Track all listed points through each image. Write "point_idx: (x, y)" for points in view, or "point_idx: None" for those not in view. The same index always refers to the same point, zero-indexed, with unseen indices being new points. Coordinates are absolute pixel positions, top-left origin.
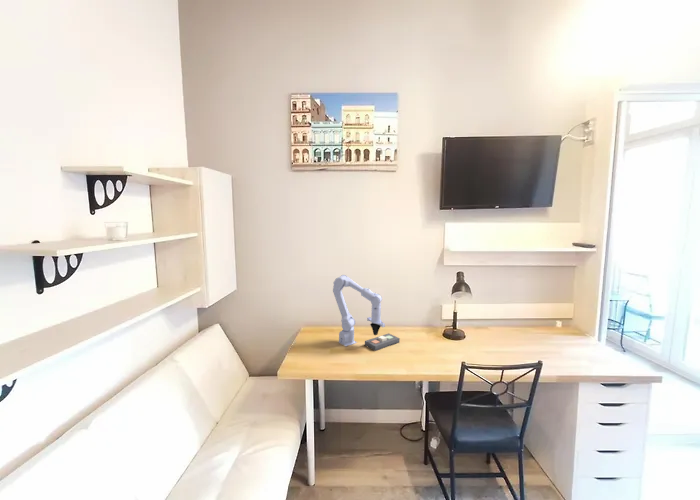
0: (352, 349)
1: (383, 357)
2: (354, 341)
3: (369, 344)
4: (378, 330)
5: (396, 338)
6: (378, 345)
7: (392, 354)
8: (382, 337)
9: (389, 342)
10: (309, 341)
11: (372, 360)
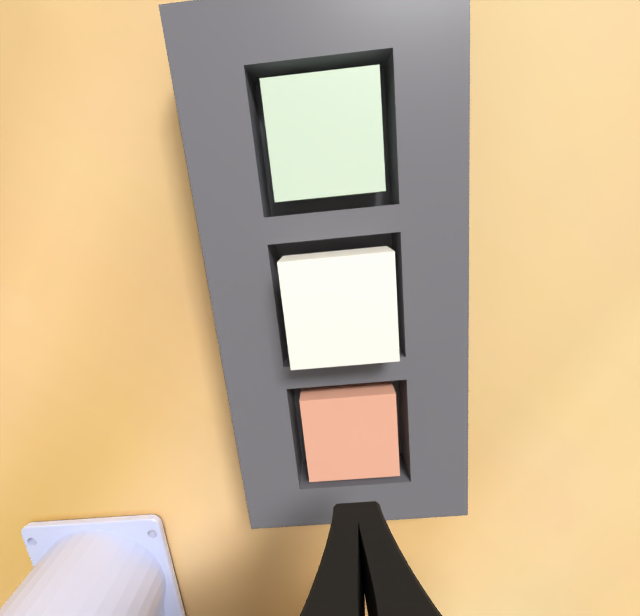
0: (277, 612)
1: (612, 479)
2: (126, 530)
3: None
4: (415, 578)
5: (445, 41)
6: (467, 467)
7: (634, 358)
8: (346, 317)
9: (463, 251)
10: None
11: (581, 590)
